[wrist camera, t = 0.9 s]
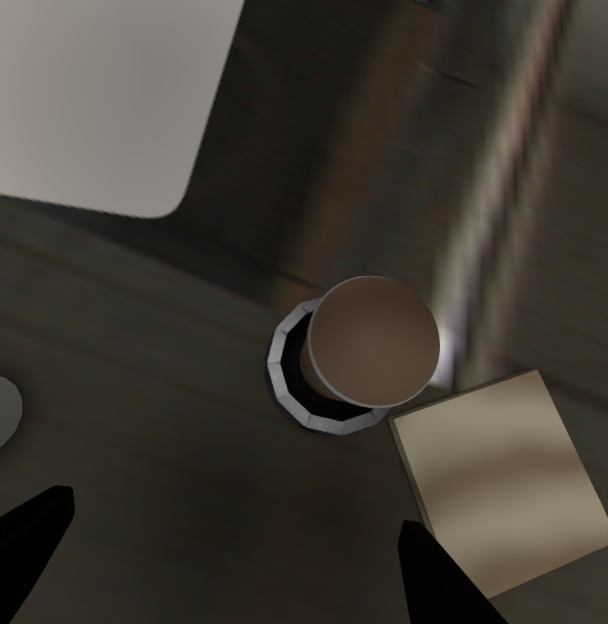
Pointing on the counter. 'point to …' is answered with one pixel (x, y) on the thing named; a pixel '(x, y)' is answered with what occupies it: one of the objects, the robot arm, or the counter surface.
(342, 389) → the tapered cup
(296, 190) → the counter surface
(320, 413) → the cup
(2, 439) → the shot glass
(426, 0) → the door handle
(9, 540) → the robot arm
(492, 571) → the beige cloth napkin
